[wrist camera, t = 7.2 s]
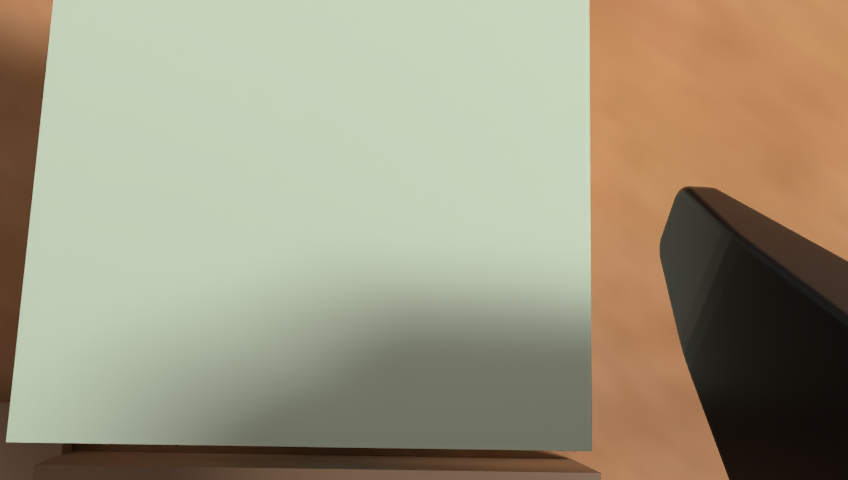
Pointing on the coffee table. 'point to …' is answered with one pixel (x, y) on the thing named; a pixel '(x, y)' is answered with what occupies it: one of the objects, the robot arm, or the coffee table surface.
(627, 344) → the coffee table surface
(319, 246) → the block
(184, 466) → the wooden double frame
